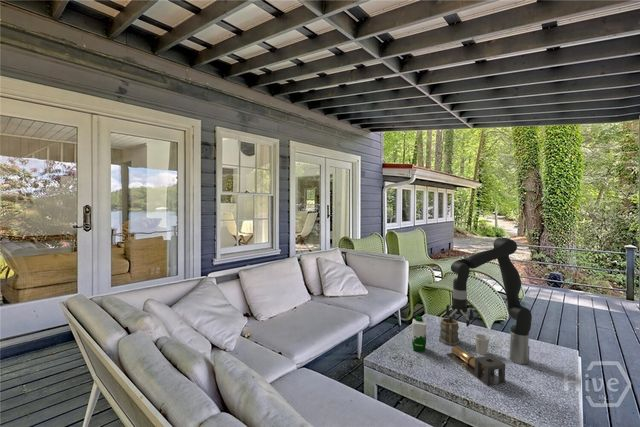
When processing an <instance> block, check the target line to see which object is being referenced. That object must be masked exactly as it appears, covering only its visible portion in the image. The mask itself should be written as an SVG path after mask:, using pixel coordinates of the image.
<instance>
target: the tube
mask: <svg viewBox="0 0 640 427" xmlns="http://www.w3.org/2000/svg"><path fill="white" fill-rule="evenodd" d="M451 353H454V354H455V355H456V356H458V357H459V358H461V359H462V360H463V361H465V362H466V363H467V364H469V365H470V366H472V367H473V368H474V369H475V358H476V357H474V356H472V355H471V354H470V353H469V352H466V351H465V350H464V349H462V348H461V347H460V346H458V345H452V347H451ZM484 368H485V366H484V365H483V364H481V372H483V371H484Z"/></svg>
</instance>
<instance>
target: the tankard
mask: <svg viewBox="0 0 640 427" xmlns="http://www.w3.org/2000/svg"><path fill="white" fill-rule="evenodd" d="M449 320H450V317H449V318H448V317H444V318H441V321H440V322H439V323H440V324H439V326H440V327H439V328H440V330H439V333H440V334H439V335H438V341H439V342H440V343H442V344H444V345H448V346H458V345H460V338H459V335H460V334H459V328H460V326H459V323H458V320H456V319H454V318H453V323H451V322H450V321H449Z"/></svg>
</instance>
